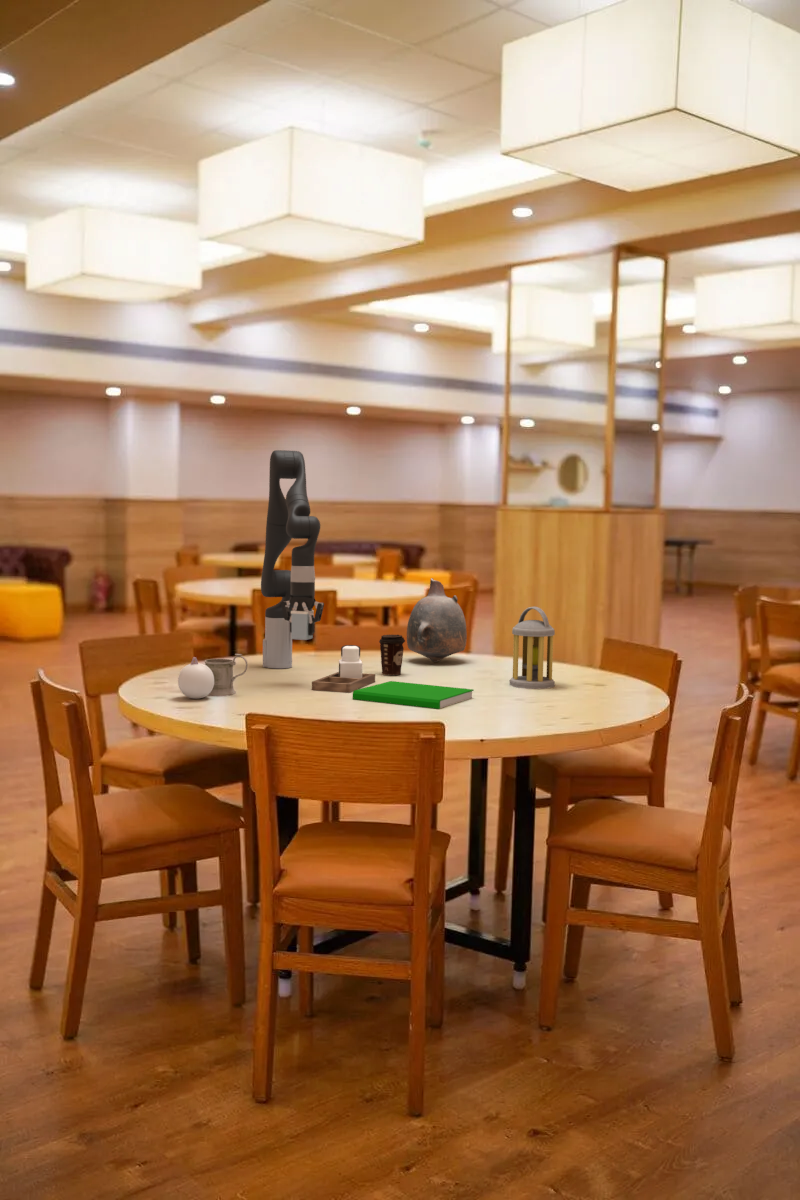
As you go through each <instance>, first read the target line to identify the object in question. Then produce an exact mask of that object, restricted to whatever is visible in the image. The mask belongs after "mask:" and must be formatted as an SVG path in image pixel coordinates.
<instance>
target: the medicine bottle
mask: <svg viewBox="0 0 800 1200" xmlns="http://www.w3.org/2000/svg"><path fill="white" fill-rule="evenodd" d="M340 658H341V659H338V672H339V677H344V678H359V679H360V678H362V673H363V661H362V659H361V647H360V645H359V646H358V645H353V644H346V645H342V646H341V648H340Z"/></svg>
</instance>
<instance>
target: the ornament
mask: <svg viewBox="0 0 800 1200" xmlns="http://www.w3.org/2000/svg"><path fill="white" fill-rule="evenodd" d="M177 685H178V690H179V691H180V692H181V694H182V695H184V696H185V697H186V698H189V699H194V700H196V699H197V700H198V699H202V698H205V697H207V696H209V695H208V694H209V693H210V692H211V691H212V689H213V686H214V675H213V673H212V671H211V669H210V668H209V667H208V666H206V665H205V663H200V662H199V661H198V659H197V656H196V657H195V656H193V657H192V660H191V662H190V663H189V664H187V665H185V666H184V667H182V668H181V669H180V671H179V674H178V676H177Z"/></svg>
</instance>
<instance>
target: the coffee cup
mask: <svg viewBox="0 0 800 1200" xmlns="http://www.w3.org/2000/svg"><path fill="white" fill-rule="evenodd" d="M378 642H379V644H380V660H381V661H380V663H381V675H383V676H399V675H401V673H402V666H403V658H404V648H405V647H404V646H403V645H404V643H405V642H406V640H405V638H404V637H403V635H402V634H383V635H381V638H380V639H379V641H378Z"/></svg>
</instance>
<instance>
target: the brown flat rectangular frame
mask: <svg viewBox="0 0 800 1200" xmlns="http://www.w3.org/2000/svg"><path fill="white" fill-rule="evenodd" d="M373 683H376V673H368V672H367V673H365V672H364V673H363V672H362V678H360V679H359V678H344V677H339V671H336V672H334V673H332V674H331V673H330V674H329V675H325V676H324V677H321V678H319V679H316V680H313V681H311V691H324V692H334V693H335V692H337V693H348V694H349V693H353V691H354V690H358V689H362V688H365V687H368V686H369V685H371V684H373Z"/></svg>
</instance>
